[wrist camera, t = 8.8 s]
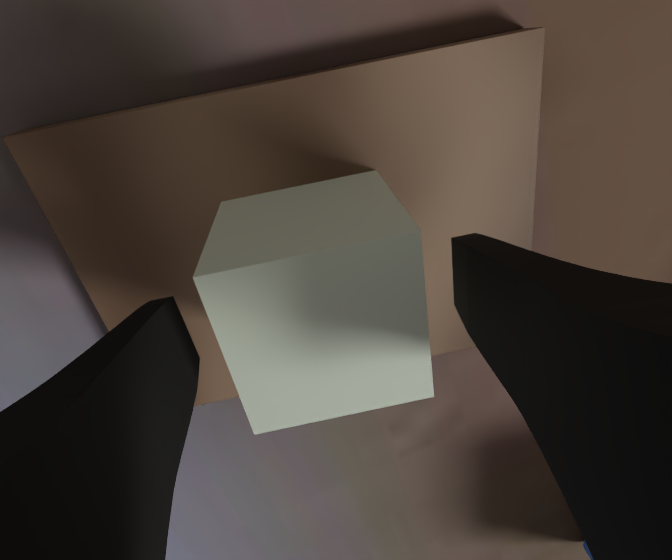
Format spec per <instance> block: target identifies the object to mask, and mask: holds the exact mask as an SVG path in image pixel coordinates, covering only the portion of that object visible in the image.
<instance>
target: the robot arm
mask: <svg viewBox="0 0 672 560" xmlns="http://www.w3.org/2000/svg"><path fill="white" fill-rule="evenodd" d="M451 247H452V270H453V293H454V305H455V308H456V310H457V312H458V314H459V316H460V318H461V320H462V322H463V324H464V327H465V329H466V331H467V333H468V334H469V336H470V337H471V339H472V341H473V342H474V344H475V345H476V347H477V348H478V350H479V351H480V353H481V354H482V355H483V357H484V358H485V360H486V361H487V363H488V364H489V366H490V367H491V369H492V370H493V372H494V373H495V375H496V376H497V377H498V379H499V380H500V382H501V383H502V385H503V386H504V388H505V389H506V391H507V392H508V394H509V395H510V396H511V398H512V399H513V401H514V403H515V404H516V406H517V407H518V409H519V411H520V412H521V414H522V416H523V417H524V419H525V421H526V423H527V425H528V427H529V429H530V431H531V432H532V434H533V436H534V438H535V440H536V442H537V444H538V446H539V448H540V449H541V451H542V453H543V455H544V457H545V459H546V461H547V463H548V465H549V467H550V469H551V471H552V473H553V475H554V477H555V479H556V481H557V483H558V485H559V487H560V489H561V491H562V493H563V495H564V497H565V499H566V502H567V504H568V506H569V508H570V510H571V512H572V514H573V516H574V518H575V521H576V523H577V525H578V527H579V529H580V531H581V533H582V535H583V537H584V540H585V542H586V544H587V546H588V549H589V551H590V553H591V555H592V558H593V560H672V284H671V283H663V282H656V281H650V280H644V279H638V278H632V277H627V276H622V275H618V274H613V273H608V272H603V271H599V270H595V269H590V268H586V267H583V266H579V265H576V264H572V263H568V262H565V261H561V260H558V259H555V258H551V257H548V256H545V255H542V254H539V253H536V252H533V251H530V250H527V249H524V248H521V247H518V246H515V245H513V244H510V243H507V242H504V241H501V240H498V239H495V238H492V237H489V236H486V235H482V234H478V233H472V234H467V235H462V236H457V237H452V238H451ZM199 365H200V357H199V354H198V352H197V350H196V347H195V345H194V343H193V341H192V338H191V336H190V334H189V331H188V329H187V327H186V324H185V322H184V320H183V317H182V315H181V313H180V310H179V308H178V306H177V304H176V301H175V299H174V297H173V296H170V297H166V298H161V299H156V300H151V301H149V302H147V303H145V304H144V305H142V306H141V307H139V308H138V309H137V310H135V311H134V312H133V313H132V314H130V315H129V316H128V317H127V318H125V319H124V320H123V321H122V322H120V323H119V324H118V325H117V326H116V327H114V328H113V329H112V330H111V331H110V332H108V333H107V334H106V335H105V336H104V337H102V338H101V339H100V340H99V341H98V342H96V343H95V344H94V345H93V346H91V347H90V348H89V349H88V350H86V351H85V352H84V353H83V354H81V355H80V356H79V357H77V358H76V359H75V360H74V361H72V362H71V363H70V364H68V365H67V366H66V367H64V368H63V369H62V370H61V371H59V372H58V373H57V374H55V375H54V376H53V377H51V378H50V379H49V380H47V381H46V382H45V383H43V384H42V385H40V386H39V387H37V388H36V389H34V390H33V391H32V392H30V393H29V394H27V395H26V396H24V397H23V398H21V399H19V400H18V401H16V402H15V403H13V404H12V405H10V406H9V407H7V408H6V409H4V410H3V411H1V412H0V560H165V555H166V546H167V537H168V528H169V521H170V513H171V506H172V499H173V491H174V486H175V481H176V476H177V471H178V467H179V463H180V459H181V455H182V451H183V447H184V443H185V439H186V435H187V431H188V427H189V424H190V420H191V415H192V411H193V407H194V403H195V399H196V394H197V388H198V378H199Z"/></svg>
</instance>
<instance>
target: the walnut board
mask: <svg viewBox="0 0 672 560" xmlns="http://www.w3.org/2000/svg"><path fill="white" fill-rule="evenodd" d="M544 36H545V27H539V28H524V29H519V30H514V31H509V32H504V33H500V34H495V35H490V36H485V37H480V38H475V39H470V40H465V41H460V42H455V43H450V44H445V45H440V46H436V47H431V48H426V49H421V50H416V51H411V52H406V53H401V54H396V55H391V56H386V57H381V58H376V59H372V60H367V61H362V62H357V63H352V64H347V65H342V66H337V67H332V68H327V69H322V70H317V71H312V72H308V73H303V74H298V75H293V76H288V77H283V78H278V79H273V80H268V81H263V82H258V83H253V84H248V85H244V86H239V87H234V88H229V89H224V90H219V91H214V92H209V93H204V94H199V95H194V96H189V97H184V98H180V99H175V100H170V101H165V102H160V103H155V104H150V105H145V106H140V107H135V108H130V109H125V110H120V111H116V112H111V113H106V114H101V115H96V116H91V117H86V118H81V119H76V120H71V121H66V122H61V123H56V124H52V125H47V126H42V127H37V128H32V129H27V130H22V131H20V132H17V133H14V134H11V135H8V136H5V137H2V138H3V140H4V142H5V144H6V145H7V147H8V149H9V151H10V153H11V154H12V156H13V158H14V160H15V162H16V164H17V165H18V167H19V169H20V171H21V173H22V174H23V176H24V178H25V180H26V182H27V184H28V185H29V187H30V189H31V191H32V193H33V194H34V196H35V198H36V200H37V202H38V204H39V205H40V207H41V209H42V211H43V213H44V214H45V216H46V218H47V220H48V222H49V224H50V225H51V227H52V229H53V231H54V233H55V234H56V236H57V238H58V240H59V242H60V244H61V245H62V247H63V249H64V251H65V253H66V254H67V256H68V258H69V260H70V262H71V264H72V265H73V267H74V269H75V271H76V273H77V275H78V276H79V278H80V280H81V282H82V284H83V285H84V287H85V289H86V291H87V293H88V295H89V296H90V298H91V300H92V302H93V304H94V305H95V307H96V309H97V311H98V313H99V315H100V316H101V318H102V320H103V322H104V324H105V325H106V327H107V329H108V331H109V332H110V331H111V330H112V329H113V328H114V327H116V326H117V325H118V324H119V323H120V322H122V321H123V320H124V319H125V318H127V317H128V316H129V315H130V314H132V313H133V312H134V311H135V310H137V309H138V308H139V307H141V306H142V305H144V304H145V303H147V302H149V301H151V300H156V299H161V298H166V297H170V296H173V297H174V299H175V301H176V304H177V306H178V308H179V310H180V313H181V315H182V317H183V320H184V322H185V324H186V327H187V329H188V331H189V334H190V336H191V338H192V341H193V343H194V345H195V347H196V350H197V352H198V354H199V357H200V365H199V378H198V388H197V394H196V399H195V403H194V406H197V405H202V404H207V403H211V402H216V401H221V400H225V399H230V398H235V397H239V394H238V391H237V389H236V386H235V384H234V381H233V379H232V376H231V374H230V371H229V369H228V366H227V364H226V361H225V359H224V356H223V353H222V351H221V348H220V346H219V343H218V341H217V338H216V336H215V333H214V331H213V328H212V326H211V323H210V320H209V318H208V315H207V313H206V310H205V308H204V305H203V303H202V300H201V298H200V295H199V293H198V290H197V287H196V285H195V282H194V280H193V275H194V273H195V270H196V267H197V265H198V262H199V259H200V257H201V254H202V251H203V249H204V246H205V243H206V241H207V238H208V235H209V233H210V230H211V227H212V225H213V222H214V219H215V217H216V214H217V211H218V209H219V206H220V203H221V202H222V201H227V200H232V199H237V198H242V197H247V196H252V195H257V194H261V193H266V192H271V191H276V190H281V189H286V188H291V187H296V186H301V185H305V184H310V183H315V182H320V181H325V180H330V179H335V178H340V177H344V176H349V175H354V174H359V173H364V172H369V171H374V170H376V171H377V172H378V173H379V175H380V176H381V177H382V179H383V180H384V181H385V183H386V184H387V185H388V187H389V188H390V190H391V191H392V192H393V194H394V195H395V196H396V198H397V199H398V200H399V202H400V203H401V204H402V206H403V207H404V208H405V210H406V211H407V213H408V214H409V215H410V217H411V218H412V219H413V221H414V222H415V223H416V225H417V226H418V227H419V229H420V230H421V240H422V253H423V265H424V278H425V290H426V303H427V315H428V328H429V340H430V353H431V356H433V355H438V354H443V353H448V352H452V351H457V350H462V349H467V348H471V347H476V345H475V344H474V342H473V341H472V339H471V337H470V336H469V334H468V333H467V331H466V329H465V327H464V324H463V322H462V320H461V318H460V316H459V314H458V312H457V310H456V308H455V305H454V293H453V270H452V247H451V238H452V237H457V236H462V235H467V234H472V233H478V234H482V235H486V236H489V237H492V238H495V239H498V240H501V241H504V242H507V243H510V244H513V245H515V246H518V247H521V248H524V249H527V250H530V251H531V248H532V232H533V215H534V199H535V183H536V166H537V150H538V134H539V117H540V101H541V85H542V68H543V52H544Z"/></svg>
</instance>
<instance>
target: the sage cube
mask: <svg viewBox="0 0 672 560" xmlns="http://www.w3.org/2000/svg"><path fill="white" fill-rule="evenodd" d="M193 280H194V282H195V285H196V287H197V290H198V293H199V295H200V298H201V300H202V303H203V305H204V308H205V310H206V313H207V315H208V318H209V320H210V323H211V326H212V328H213V331H214V333H215V336H216V338H217V341H218V343H219V346H220V348H221V351H222V353H223V356H224V359H225V361H226V364H227V366H228V369H229V371H230V374H231V376H232V379H233V381H234V384H235V386H236V389H237V391H238V394H239V397H240V399H241V402H242V404H243V407H244V409H245V412H246V414H247V417H248V419H249V422H250V424H251V427H252V430H253V432H254V435H255V434H260V433H265V432H269V431H274V430H279V429H284V428H288V427H293V426H298V425H302V424H307V423H312V422H317V421H321V420H326V419H331V418H336V417H340V416H345V415H350V414H354V413H359V412H364V411H369V410H373V409H378V408H383V407H388V406H392V405H397V404H402V403H406V402H411V401H416V400H421V399H425V398H430V397H434V391H433V378H432V365H431V353H430V340H429V328H428V315H427V303H426V290H425V278H424V265H423V253H422V240H421V230H420V229H419V227H418V226H417V225H416V223H415V222H414V221H413V219H412V218H411V217H410V215H409V214H408V213H407V211H406V210H405V208H404V207H403V206H402V204H401V203H400V202H399V200H398V199H397V198H396V196H395V195H394V194H393V192H392V191H391V190H390V188H389V187H388V185H387V184H386V183H385V181H384V180H383V179H382V177H381V176H380V175H379V173H378V172H377V171H376V170H374V171H369V172H364V173H359V174H354V175H349V176H344V177H340V178H335V179H330V180H325V181H320V182H315V183H310V184H305V185H301V186H296V187H291V188H286V189H281V190H276V191H271V192H266V193H261V194H257V195H252V196H247V197H242V198H237V199H232V200H227V201H222V202H221V203H220V206H219V209H218V211H217V214H216V217H215V219H214V222H213V225H212V227H211V230H210V233H209V235H208V238H207V241H206V243H205V246H204V249H203V251H202V254H201V257H200V259H199V262H198V265H197V267H196V270H195V273H194V275H193Z"/></svg>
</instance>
